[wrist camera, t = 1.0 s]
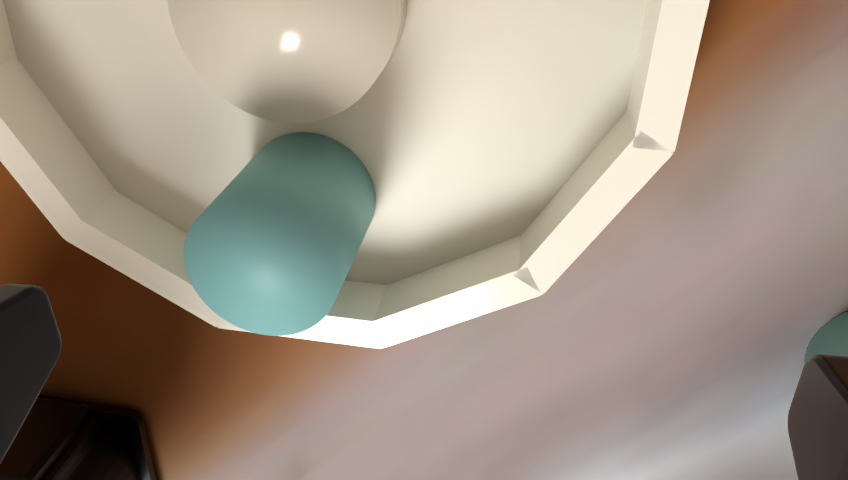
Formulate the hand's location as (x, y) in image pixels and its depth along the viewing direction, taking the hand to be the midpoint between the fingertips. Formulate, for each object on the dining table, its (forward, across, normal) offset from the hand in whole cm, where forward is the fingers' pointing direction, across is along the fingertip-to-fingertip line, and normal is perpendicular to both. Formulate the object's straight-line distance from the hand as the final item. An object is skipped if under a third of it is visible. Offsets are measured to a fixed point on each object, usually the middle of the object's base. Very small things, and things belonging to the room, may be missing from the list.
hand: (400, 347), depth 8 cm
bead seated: (+12, +5, +4) cm, 14 cm away
